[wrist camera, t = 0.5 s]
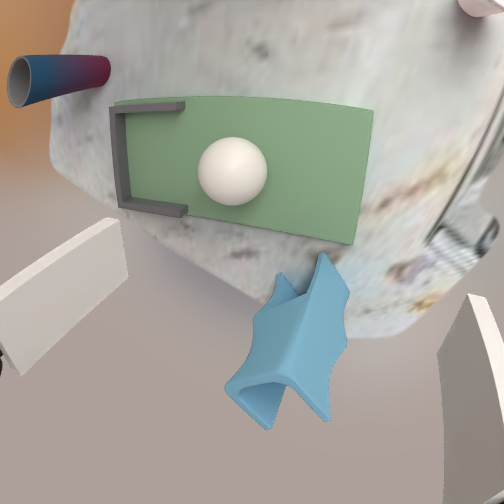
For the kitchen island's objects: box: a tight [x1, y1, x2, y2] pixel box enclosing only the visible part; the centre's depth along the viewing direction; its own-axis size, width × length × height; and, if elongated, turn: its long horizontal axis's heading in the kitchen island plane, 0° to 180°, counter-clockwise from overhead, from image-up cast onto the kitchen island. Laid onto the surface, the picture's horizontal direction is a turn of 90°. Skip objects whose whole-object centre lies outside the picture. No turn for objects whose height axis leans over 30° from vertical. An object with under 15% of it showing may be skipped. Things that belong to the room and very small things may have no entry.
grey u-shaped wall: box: [109, 101, 188, 218], centre depth 39 cm, size 11×15×2 cm
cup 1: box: [7, 55, 111, 108], centre depth 31 cm, size 7×7×15 cm
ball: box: [198, 137, 267, 206], centre depth 33 cm, size 8×8×8 cm
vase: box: [225, 251, 350, 430], centre depth 34 cm, size 8×8×20 cm
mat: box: [115, 96, 373, 245], centre depth 38 cm, size 34×16×1 cm, turn 88°
